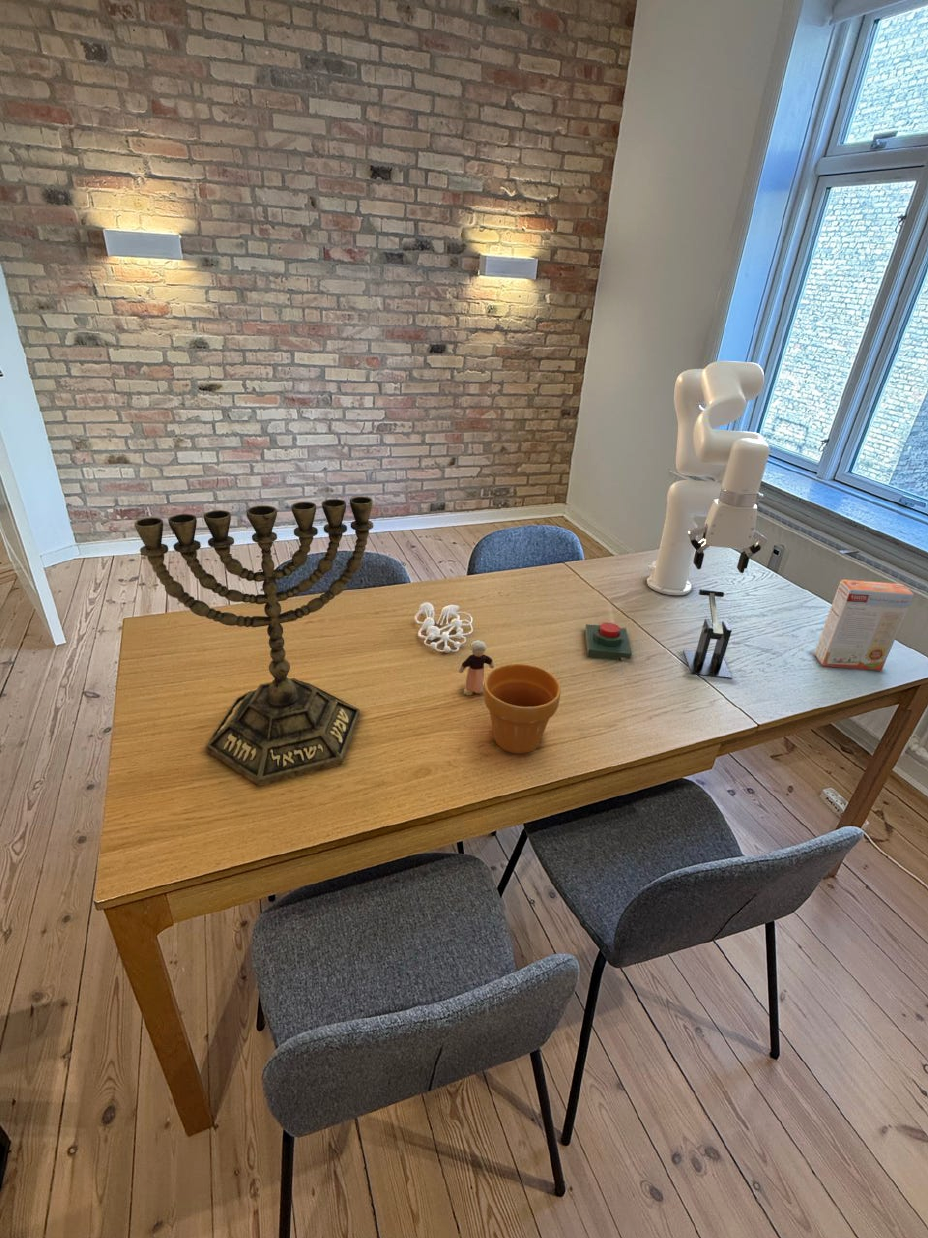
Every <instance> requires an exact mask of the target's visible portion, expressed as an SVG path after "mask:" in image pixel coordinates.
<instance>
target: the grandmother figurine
mask: <svg viewBox="0 0 928 1238" xmlns="http://www.w3.org/2000/svg"><path fill="white" fill-rule="evenodd" d="M487 649H488V647H487V644H486V643H485V642H484V641H482V640H480V639H477V640H473V641H472V643H471V644H470V650H471V653H472V654H470V655H468V656H467V658H466V659H465V660H464V661H463V662H462V663H461V665H460V668H459V669H458V672H459V673H460V674H462V673H464V671H465V670H466V668H468V669H467V674H466V678H465V686H464V689H463V695H464V696H470V697H471V696H472V695H474V694H477V695H483V694H484V688H483V686H484V680H485V678H484V677H485V664H486V665H488V667H489V668H490V669H495V664H494V662H493V659H492V658H491V657H490V656H489V655H486V654H485V651H487Z"/></svg>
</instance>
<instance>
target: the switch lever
mask: <svg viewBox="0 0 928 1238" xmlns="http://www.w3.org/2000/svg"><path fill="white" fill-rule="evenodd" d="M698 595H699V596H706V597H708V601H709V610H710V618H711V624H712V626H713V632H712V636H711V639H710V640H717V639H718V640H720V639H721V637H722V636H723V627H722V623H719V616H718V611H717V610H718V609H717V601H716V597H717V598H724V596H725V592H724V591H721V590H709V589H699V590H698Z"/></svg>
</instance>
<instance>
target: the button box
mask: <svg viewBox="0 0 928 1238" xmlns="http://www.w3.org/2000/svg"><path fill="white" fill-rule="evenodd" d="M600 626H601V624H585V626H584V627H585V628H584V638H585V647H586V657H587V658H593V659H603V660H611V661H612V660H613V661H622V658H624V659H631V657H632V650H631V649H632V648H631V644H630V641H629V636H628V632H627V627H619V628H620V630H619V635H618V637H615V638H609V637H605V636H602V635H601V634H600V633H599V631H600Z"/></svg>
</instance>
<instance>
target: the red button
mask: <svg viewBox="0 0 928 1238" xmlns="http://www.w3.org/2000/svg"><path fill="white" fill-rule="evenodd" d="M600 625H601V626H600V631H599V633H600V634H601V635H602V636H605V637H609V638H615V637H618V635H619V630H620V628H621V627H620V626H619V625H618V624H616V623H614V622H602V623H601V624H600Z"/></svg>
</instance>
